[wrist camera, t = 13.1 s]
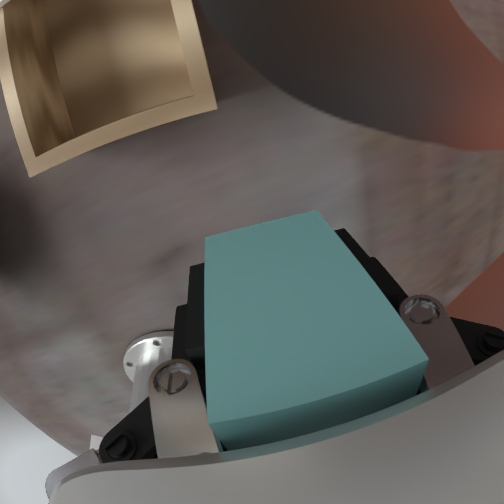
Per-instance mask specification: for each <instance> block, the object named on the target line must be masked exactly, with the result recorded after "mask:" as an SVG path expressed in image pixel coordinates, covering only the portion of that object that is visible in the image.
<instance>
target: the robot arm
mask: <svg viewBox="0 0 504 504" xmlns="http://www.w3.org/2000/svg"><path fill="white" fill-rule="evenodd" d="M335 233H336V234H337V235H338V236H339V238H340V239H341V240H342V241H343V242H344V244H345V245H346V246H347V247H348V249H349V250H350V251H351V252H352V254H353V255H354V256H355V258H356V259H357V260H358V261H359V263H360V264H361V265H362V266H363V268H364V269H365V270H366V272H367V273H368V274H369V276H370V277H371V278H372V279H373V281H374V282H375V283H376V285H377V286H378V287H379V289H380V290H381V291H382V293H383V294H384V295H385V297H386V298H387V299H388V301H389V302H390V304H391V305H392V306H393V308H394V309H395V310H396V312H397V313H398V315H399V316H400V317H401V319H402V320H403V322H404V323H405V324H406V326H407V327H408V329H409V330H410V332H411V333H412V334H413V336H414V337H415V339H416V340H417V342H418V343H419V345H420V346H421V348H422V349H423V351H424V352H425V354H426V355H427V357H428V358H429V361H428V364H427V367H426V370H425V373H424V375H423V378H422V381H421V384H420V386H419V389H418V392H417V394H416V396H414V397H412V398H410V399H407V400H405V401H403V402H400V403H398V404H396V405H393V406H391V407H388V408H386V409H383V410H381V411H378V412H375V413H373V414H370V415H367V416H364V417H362V418H359V419H356V420H353V421H350V422H347V423H344V424H341V425H338V426H334V427H331V428H328V429H324V430H321V431H318V432H314V433H310V434H307V435H303V436H299V437H295V438H291V439H287V440H282V441H278V442H274V443H269V444H264V445H259V446H254V447H249V448H243V449H237V450H231V451H228V450H227V449H226V447H225V446H224V445H223V444H222V442H221V441H220V440H219V438H218V437H217V436H216V434H215V433H214V432H213V430H212V429H211V428H210V426H209V425H208V422H207V400H206V372H205V320H204V270H205V263H201V264H197V265H193V266H190V274H189V287H188V301H187V304H185V305H181V306H178V307H177V308H176V314H175V324H174V331H160V332H153V333H149V334H146V335H143V336H141V337H139V338H137V339H135V340H134V341H133V342H132V343H131V344H130V345H129V346H128V348H127V349H126V352H125V356H124V361H123V365H124V370H125V372H126V374H127V376H128V377H129V378H130V380H131V381H132V382H133V387H132V393H131V400H130V406H129V413H128V415H127V416H126V417H125V418H124V419H123V420H122V421H120V422H119V423H118V424H117V425H116V426H115V427H114V428H113V429H111V430H110V431H109V432H108V433H107V434H106V435H105V436H104V438H103V439H102V441H101V443H100V446H99V449H98V450H95V449H93V448H92V449H91V450H89V451H87V452H85V453H84V454H82V455H80V456H78V457H77V458H75V459H73V460H72V461H70V462H68V463H66V464H64V465H62V466H61V467H59V468H57V469H55V470H53V471H52V472H51V473H50V474H49V475H48V477H47V479H46V483H45V487H46V493H47V496H48V498H49V503H48V504H504V332H503V331H502V330H500V329H499V328H496V327H492V326H488V325H483V324H479V323H474V322H470V321H466V320H461V319H457V318H453V317H449V315H448V313H447V312H446V310H445V308H444V306H443V305H442V304H441V302H440V301H439V300H437V299H436V298H434V297H431V296H429V295H422V294H420V295H413V296H410V297H408V296H407V294H406V293H405V292H404V291H403V290H402V288H401V287H400V286H399V285H398V283H397V282H396V281H395V280H394V279H393V277H392V276H391V275H390V274H389V273H388V272H387V270H386V269H385V268H384V267H383V266H382V265H381V263H380V262H379V261H378V260H377V259H376V258H375V257H369V256H368V255H367V254H366V253H365V251H364V250H363V249H362V248H361V247H360V246H359V244H358V243H357V242H356V241H355V240H354V239H353V238H352V236H351V235H350V234H349V233H348V232H347V231H346V230H345V229H344V228H343V229H339V230H335Z"/></svg>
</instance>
